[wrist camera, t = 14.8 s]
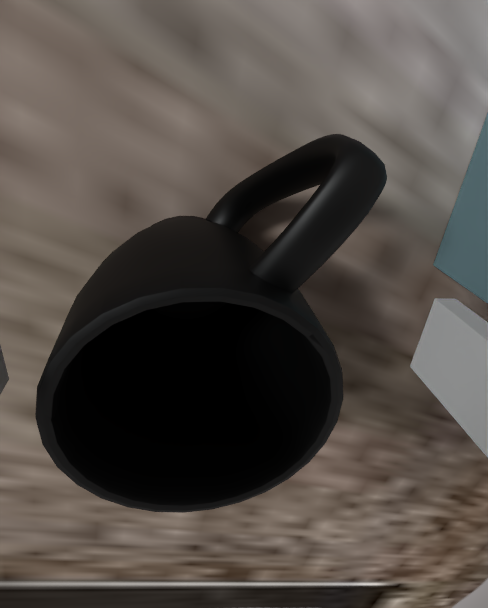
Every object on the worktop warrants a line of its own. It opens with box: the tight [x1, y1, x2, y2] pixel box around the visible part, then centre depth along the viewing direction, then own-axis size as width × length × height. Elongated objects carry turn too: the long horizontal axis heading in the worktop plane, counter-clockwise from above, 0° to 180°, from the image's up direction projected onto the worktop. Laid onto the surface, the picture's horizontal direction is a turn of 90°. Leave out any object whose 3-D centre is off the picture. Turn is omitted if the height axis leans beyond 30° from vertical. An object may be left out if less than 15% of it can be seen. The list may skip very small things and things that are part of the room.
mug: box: [36, 134, 387, 512], centre depth 14 cm, size 8×12×10 cm
